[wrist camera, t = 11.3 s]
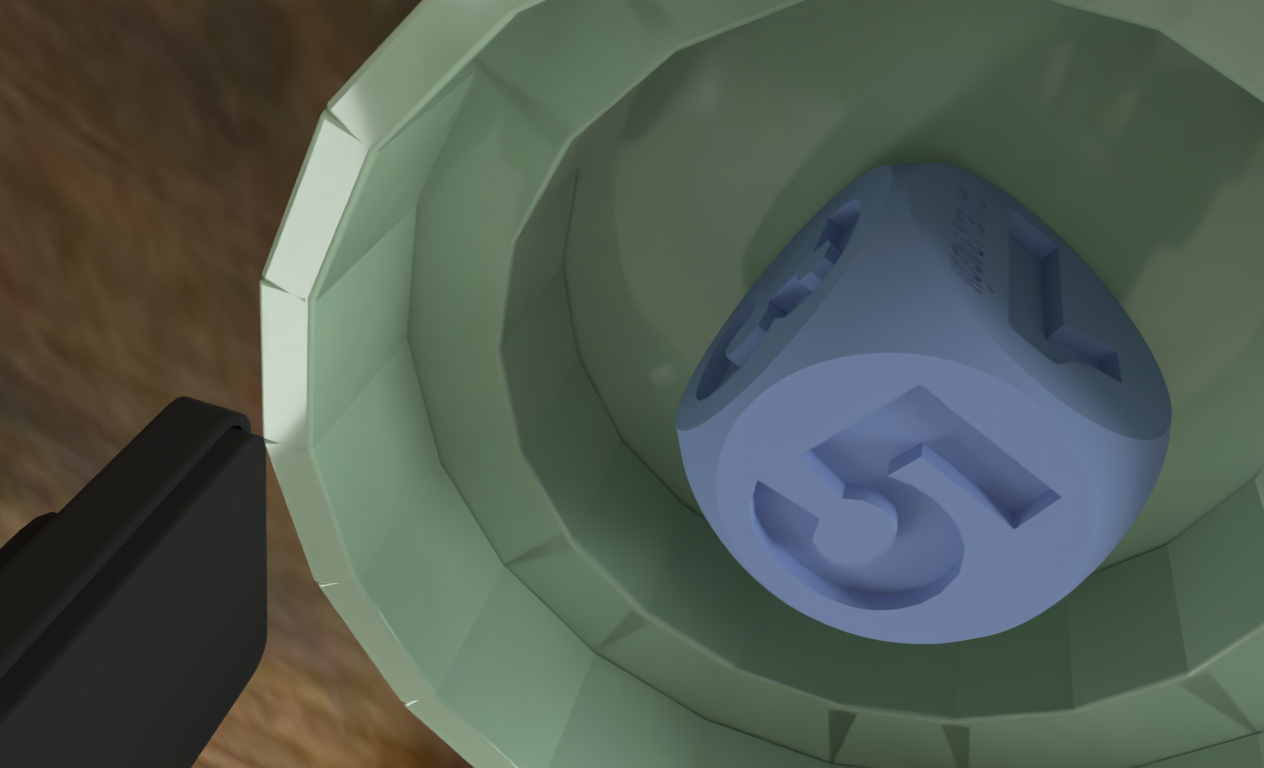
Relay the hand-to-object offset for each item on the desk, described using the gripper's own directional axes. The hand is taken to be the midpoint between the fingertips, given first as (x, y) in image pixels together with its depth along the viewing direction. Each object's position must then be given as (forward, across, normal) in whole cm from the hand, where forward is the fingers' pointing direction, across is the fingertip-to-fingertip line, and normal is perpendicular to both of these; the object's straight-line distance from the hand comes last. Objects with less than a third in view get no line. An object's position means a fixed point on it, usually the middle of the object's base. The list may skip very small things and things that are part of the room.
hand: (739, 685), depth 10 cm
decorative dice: (+7, -1, -1) cm, 7 cm away
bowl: (+7, -1, 0) cm, 7 cm away
